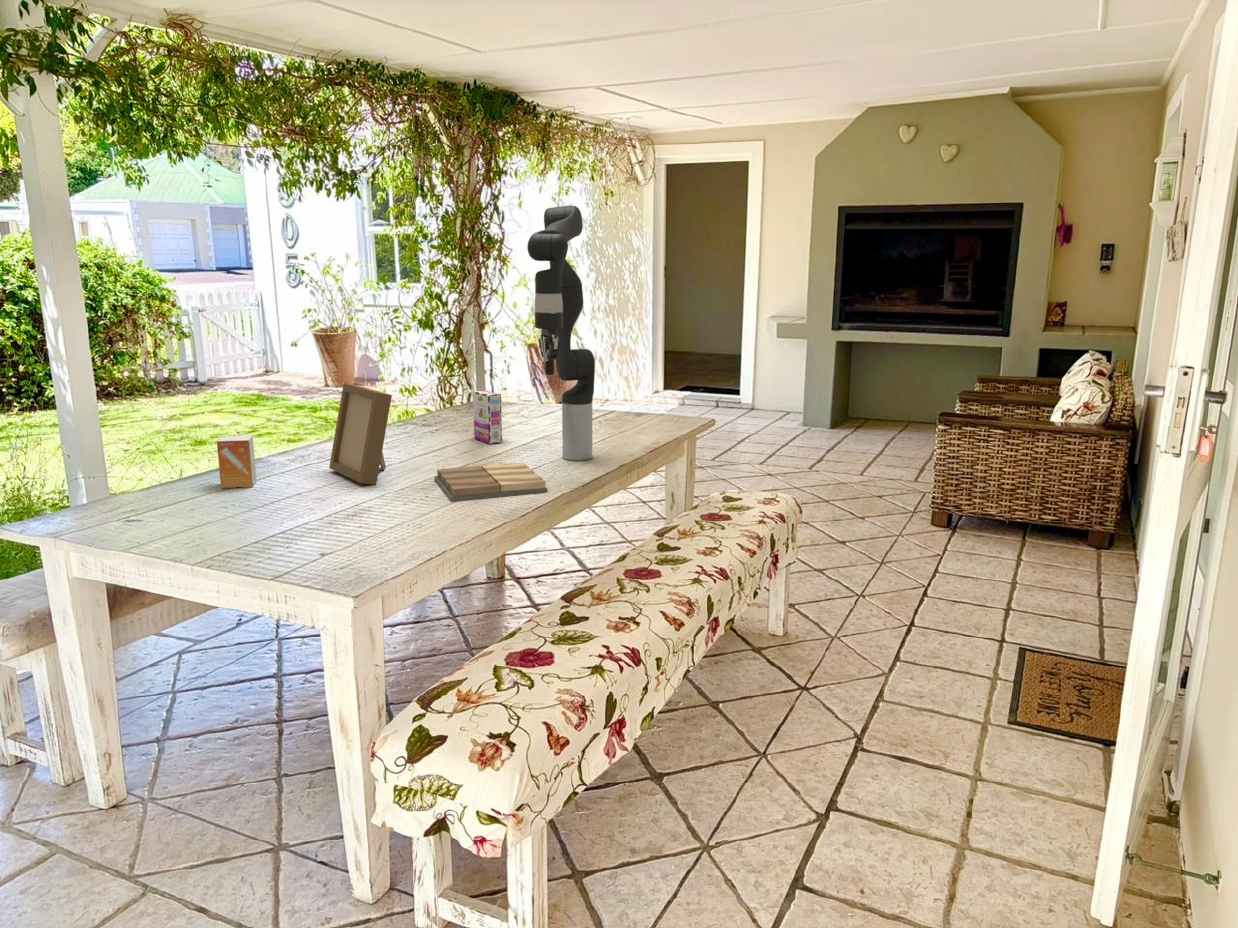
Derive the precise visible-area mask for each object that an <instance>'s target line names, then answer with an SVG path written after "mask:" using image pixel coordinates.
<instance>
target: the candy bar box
mask: <svg viewBox="0 0 1238 928" xmlns="http://www.w3.org/2000/svg"><path fill="white" fill-rule="evenodd" d="M472 393H473V395H472V396H473V398H472V399H473V402H472V403H473V426H474V427H473V431H474V432H473V434H474V435H473V436H474V438H473V439H474V440H477V441H479V442H482V443H485V444H488V445H496V444H502V443H503V431H502V429H503V426H502V421H503V420H502V394H501V393H497V392H494V391H493V392H492V391H489V390H476V391H475V390H474V391H473V392H472Z"/></svg>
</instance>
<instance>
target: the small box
mask: <svg viewBox="0 0 1238 928" xmlns="http://www.w3.org/2000/svg"><path fill="white" fill-rule="evenodd" d="M254 446H255V445H254V436H253V435H233V436H232V435H229V436H220V437H219V439H217V440H216V447H217V448H216V449H217V458H218V469H219V479H220V480H219V482H220V488H221V489H237V488H236V487H242V488H254V486H255V485H254V484H256V483H257V469H256V460H255V459H256V457H255V447H254Z"/></svg>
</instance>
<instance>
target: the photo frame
mask: <svg viewBox="0 0 1238 928" xmlns="http://www.w3.org/2000/svg"><path fill="white" fill-rule="evenodd" d="M342 385H343V386H342V390H341V396H340V400H339V401H340V402H339V409H338V413H337V421H336V424H335V425H336V426H335V432H334V438H333V444H332V450H331V455H330V461H329V469H330V470H332V471H335V472H336V473H339V474H341V475H343V476H345V477H347V478H349V479H351V480H353V481H355V482H358V483H360V484H363V485H364V484H365V485H375V486H376V485H377V483H378V478H379V477H378V476H379V471H380V468H381V471H382V472H384V471H385V469H386V468H387V467H386V461H385V457H384V453H383V449H384V443H385V437H386V430H387V425H388V420H389V419H388V418H389V413H390V408H391V402H392V396H393V395H392V394H389V393H386V392H382V391H379V390H375V389H372V388H367V387H365V386H364V387H363V386H360V385H357V384H351V383H350V384H349V383H343V384H342Z"/></svg>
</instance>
